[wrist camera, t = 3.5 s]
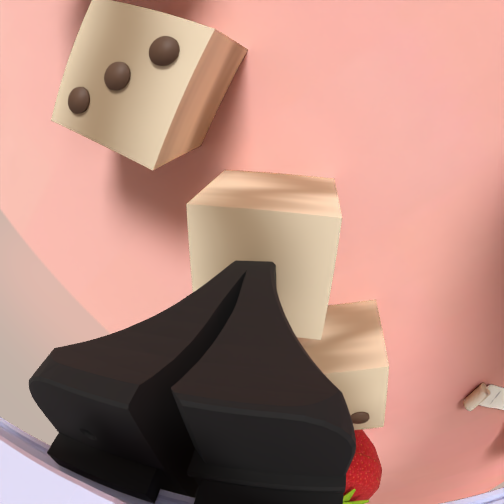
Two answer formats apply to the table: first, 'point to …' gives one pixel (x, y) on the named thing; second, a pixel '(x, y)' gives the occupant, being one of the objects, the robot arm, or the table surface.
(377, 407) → the pip block
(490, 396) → the toy measuring tape
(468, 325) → the table surface
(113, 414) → the robot arm
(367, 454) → the strawberry
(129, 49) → the pip block
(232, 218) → the plain block
